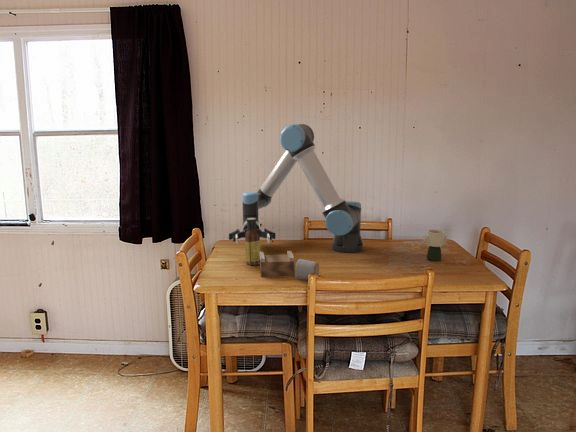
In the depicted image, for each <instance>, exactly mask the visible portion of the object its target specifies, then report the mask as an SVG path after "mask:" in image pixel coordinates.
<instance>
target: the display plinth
mask: <svg viewBox="0 0 576 432" xmlns="http://www.w3.org/2000/svg"><path fill="white" fill-rule="evenodd" d="M286 251H287V254H264V251H260V264H259V273H260V277H261V278H270V277H275V278H276V277H294V276H295V271H294V270H295V257H294V254H293V252H292V250H286Z"/></svg>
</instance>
